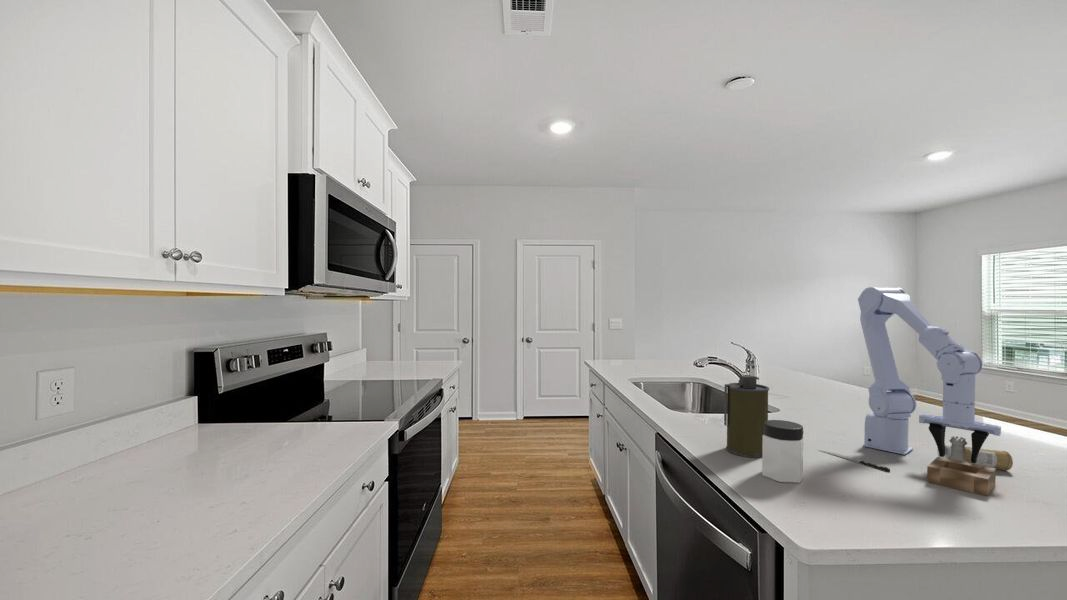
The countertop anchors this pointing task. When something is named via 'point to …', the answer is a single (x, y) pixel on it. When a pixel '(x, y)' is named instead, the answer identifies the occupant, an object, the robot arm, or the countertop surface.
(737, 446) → the canister
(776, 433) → the jar
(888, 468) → the chef's knife
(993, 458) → the sprinkles bottle
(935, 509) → the countertop surface
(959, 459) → the rook chess piece
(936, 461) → the bore block
